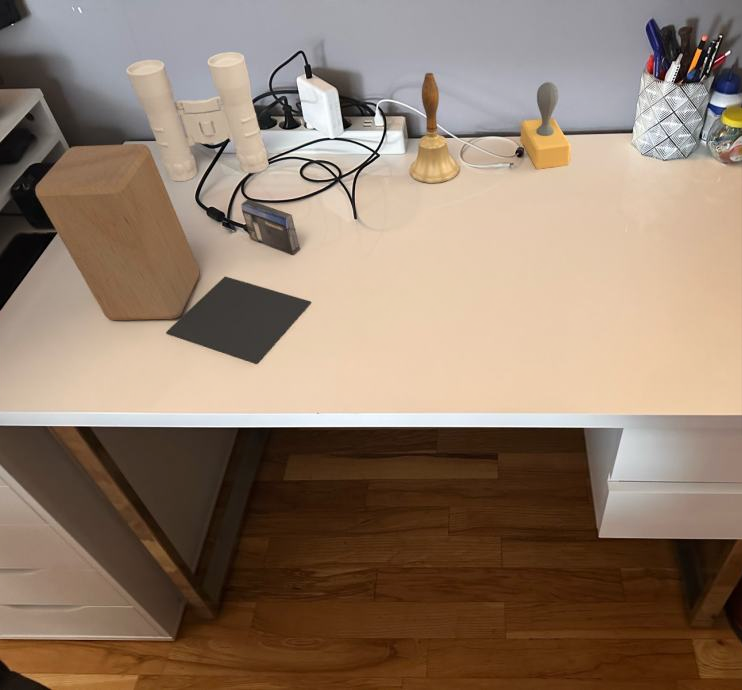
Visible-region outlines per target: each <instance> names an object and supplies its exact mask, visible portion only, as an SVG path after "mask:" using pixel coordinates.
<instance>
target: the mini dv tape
mask: <svg viewBox="0 0 742 690" xmlns="http://www.w3.org/2000/svg"><path fill="white" fill-rule="evenodd" d="M240 206H241V212H242V217H243V219H244V222H245V226H246V229H247V233H248V235H249V236H248V237H249V239H250V240H252V241H253V242H257V243H259V244H262V245H265V246H267V247H270V248H273V249H276V250H278V251H281V252H283V253H286V254H289V255H291V256H294V255H295V254H296V253H298V252H299V251H301V247H300V242H299V238H298V235H297V229H296V226H295V222H294V218H293V215H292V214H291V213H288V212H285V211H282V210H279V209H276V208H274V207H271V206H268V205H265V204H262V203H259V202H256V201H254V200H251V199H246V200H244V201H243V202H242V203H241V205H240Z"/></svg>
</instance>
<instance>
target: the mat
mask: <svg viewBox="0 0 742 690" xmlns="http://www.w3.org/2000/svg"><path fill="white" fill-rule="evenodd" d="M311 304H312V301H311V300H307V299H304V298H302V297H301V298H300V297H297V296H295V295H290V294H287V293H284V292H280V291H277V290H273V289H270V288H266V287H264V286H260V285H257V284H253V283H249V282H246V281H243V280H239V279H236V278H233V277H229V276H226V275H225V276H224V277H222V278H221V279H220V280H219V281H218V282H217V283H215V285H214V286H213V287H212V288H211V289H210V290H209V291H207V292H206V293H205V295H204V296H202V297H201V298H200V299H199V300H198V301H197V302H196V303H195V304H194V305H193V306H192V307H191V308H190V309H189V310H188V311H186V313H184V314H183V316H181V317H180V318H179V319H178V320H177V321H175V323H174V324H172V326H171V327H170V328H169V329H167V331H166V332H165V333H166V335H169V336H171V337H175V338H178V339H180V340H183V341H186V342H190V343H192V344H196V345H198V346H202V347H204V348H207V349H211V350H213V351H216V352H220V353H222V354H226V355H228V356H231V357H234V358H237V359H240V360H244V361H245V362H250V363H252V364H255V365H258V364H259V363H260V362H261V361H262V359H263V358H265V356H266V355H267V354H268V353H269V352H270V350H272V348H273V347H274V346H275V345H276V344H277V343H278V341H279V340H280V339H282V337H283V336H284V334H286V332H287V331H288V330H289V329H290V328H291V327H292V326H293V324H294V323H295V322H296V321H297V320H298V318H300V316H301V315H302V314H303V313H304V312H305V311H306V310H307V308H309V306H310V305H311Z"/></svg>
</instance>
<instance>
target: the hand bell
mask: <svg viewBox="0 0 742 690" xmlns="http://www.w3.org/2000/svg"><path fill="white" fill-rule="evenodd" d="M434 75H435V74H434V73H432V72H426V73H425V74H424V77H423V78H424V79H423V82H422V86H421V101H422V106H423V109H424V111H425V118H426V135H423V136H421V138H420V139H419V140H418V151H417V155H416V158H415V160H414V161H413V162H412V163H411V164H410V167H409V170H408V171H409V175H410V176H411V177H412V178H413V179H414V180H416V181H417V182H421V183H427V184H439V183H443V182H448V181H450V180H452V179H454V178H455V177H456V176H457V175H458V174H459V172H460V165H459V163H458V162H457V161H456V160H455V159H454V158H453V157H452V156H451V154H450V152H449V148H448V143H447V139H446V138H445V136H443V135H442V134H439V133H438V122H437V111H438V107H439V102H440V101H439V99H440V96H439V95H440V93H439V88H438V85H437V82H436V80H435V76H434Z"/></svg>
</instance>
